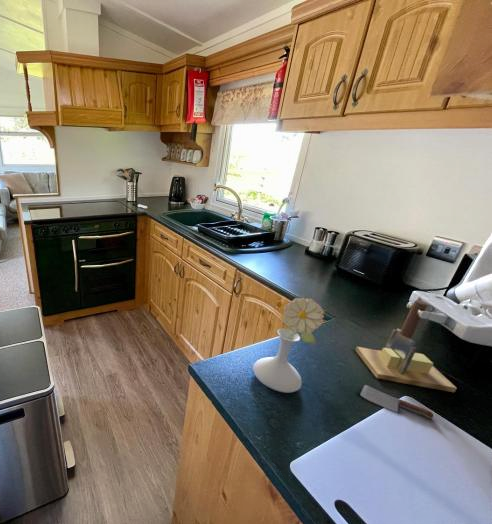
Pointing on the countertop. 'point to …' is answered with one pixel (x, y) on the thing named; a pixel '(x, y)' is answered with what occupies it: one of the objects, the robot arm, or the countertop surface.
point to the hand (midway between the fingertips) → (414, 309)
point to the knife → (408, 330)
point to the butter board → (403, 369)
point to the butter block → (416, 363)
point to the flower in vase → (290, 345)
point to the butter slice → (389, 357)
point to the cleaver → (392, 402)
